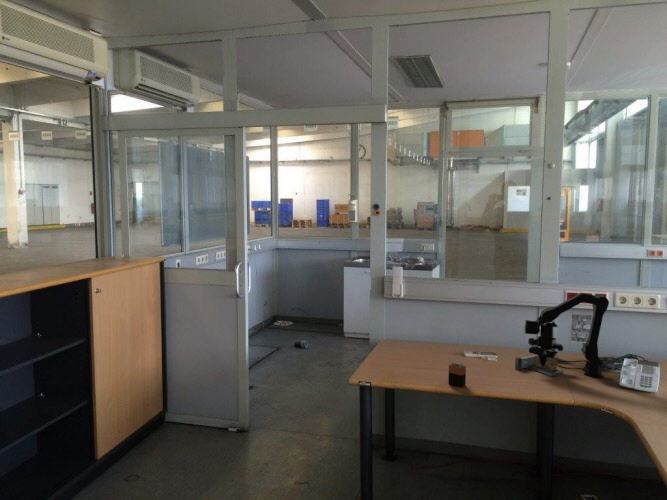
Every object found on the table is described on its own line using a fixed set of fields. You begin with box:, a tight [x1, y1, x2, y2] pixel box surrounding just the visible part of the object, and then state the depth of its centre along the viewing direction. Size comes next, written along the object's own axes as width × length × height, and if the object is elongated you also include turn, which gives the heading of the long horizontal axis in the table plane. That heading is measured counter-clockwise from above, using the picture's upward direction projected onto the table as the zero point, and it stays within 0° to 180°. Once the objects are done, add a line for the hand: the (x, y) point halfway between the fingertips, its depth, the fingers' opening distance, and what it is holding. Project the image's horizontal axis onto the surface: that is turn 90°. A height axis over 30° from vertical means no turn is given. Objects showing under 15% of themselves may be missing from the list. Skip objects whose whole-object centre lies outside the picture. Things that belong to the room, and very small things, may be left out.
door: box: [520, 354, 537, 370], centre depth 260 cm, size 16×3×5 cm, turn 119°
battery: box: [447, 362, 467, 388], centre depth 232 cm, size 4×7×10 cm, turn 51°
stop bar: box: [535, 355, 557, 371], centre depth 253 cm, size 10×4×5 cm, turn 28°
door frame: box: [514, 356, 522, 371], centre depth 260 cm, size 20×2×6 cm, turn 119°
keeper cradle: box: [527, 364, 564, 378], centre depth 253 cm, size 14×8×2 cm, turn 29°
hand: (545, 365), depth 253 cm, fingers closed on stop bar, 4 cm apart
